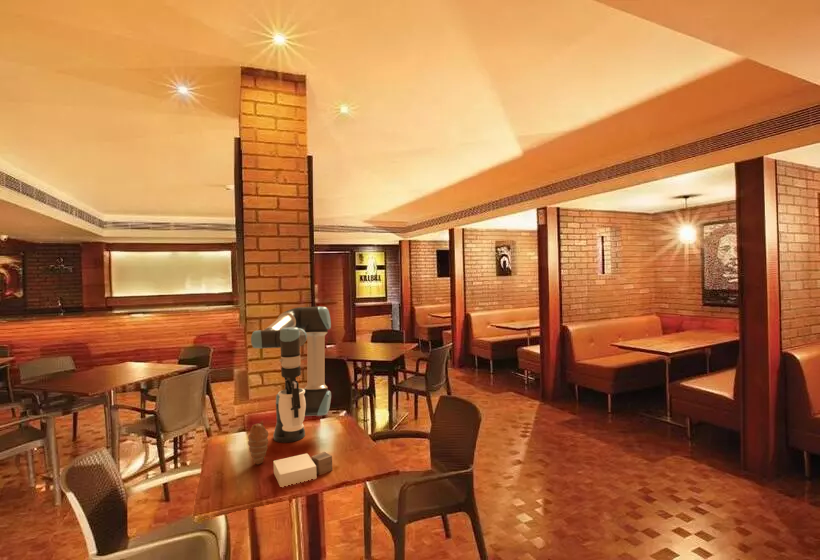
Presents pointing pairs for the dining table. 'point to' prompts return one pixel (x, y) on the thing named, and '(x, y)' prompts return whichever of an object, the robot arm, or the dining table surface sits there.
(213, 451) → the dining table surface
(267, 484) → the dining table surface
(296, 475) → the cream block
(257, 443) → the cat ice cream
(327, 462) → the walnut cube
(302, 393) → the jar
